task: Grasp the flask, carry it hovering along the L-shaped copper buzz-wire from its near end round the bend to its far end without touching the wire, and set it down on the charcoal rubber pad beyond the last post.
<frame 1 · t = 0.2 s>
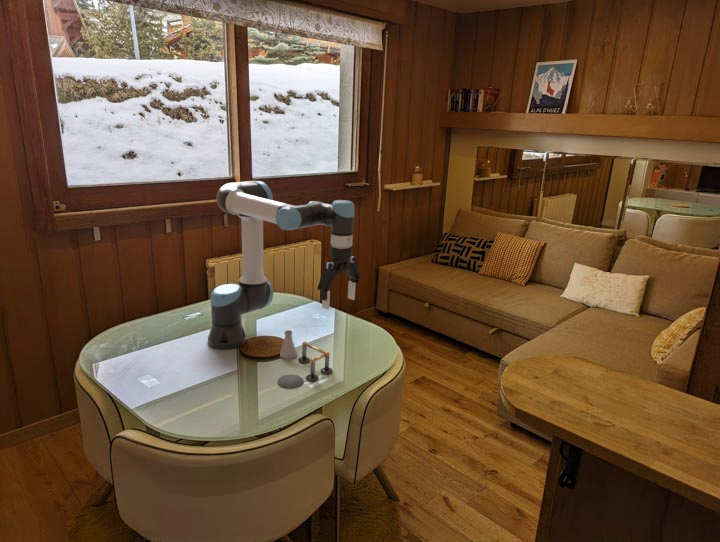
hand: (338, 303, 177), 27 cm above the table, fingers open, 13 cm apart
wire rail: (301, 372, 183), on the table
flask: (288, 355, 196), on the table
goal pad: (290, 381, 176), on the table
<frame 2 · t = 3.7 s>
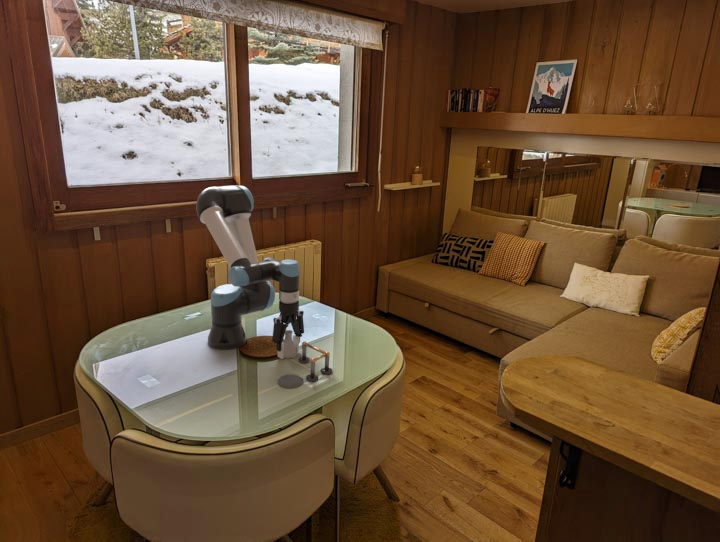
hand: (288, 354, 196), 0 cm above the table, fingers closed on flask, 7 cm apart
flask: (288, 355, 196), on the table, touching gripper
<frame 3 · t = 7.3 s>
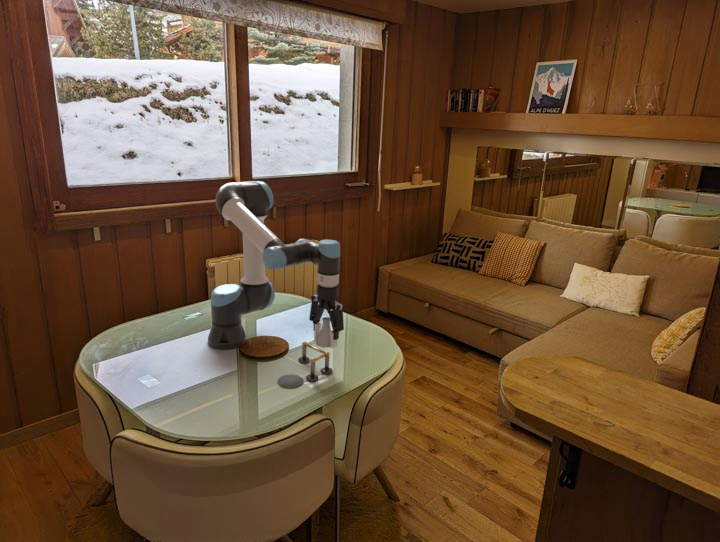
hand: (325, 343, 180), 12 cm above the table, fingers closed on flask, 7 cm apart
flask: (325, 344, 180), point 12 cm above the table, touching gripper
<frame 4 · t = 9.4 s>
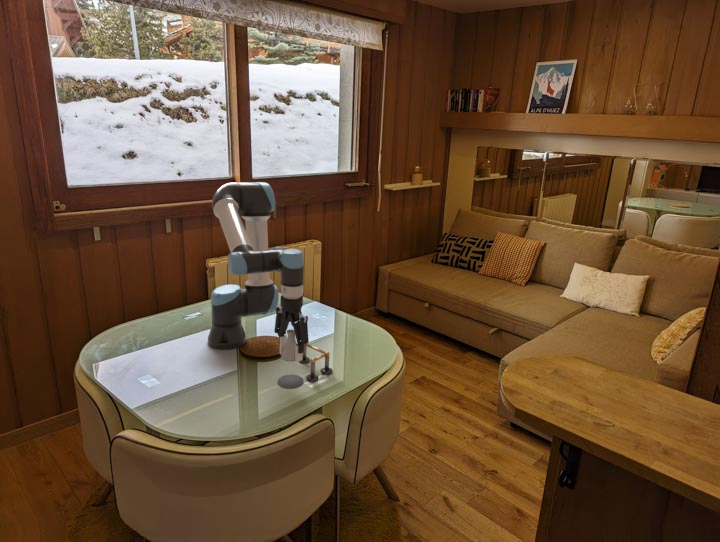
hand: (290, 356, 173), 10 cm above the table, fingers closed on flask, 7 cm apart
flask: (291, 357, 173), point 10 cm above the table, touching gripper
when the fingers open (2 cm above the table, at t = 11.1 s): flask drops 1 cm, resting on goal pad.
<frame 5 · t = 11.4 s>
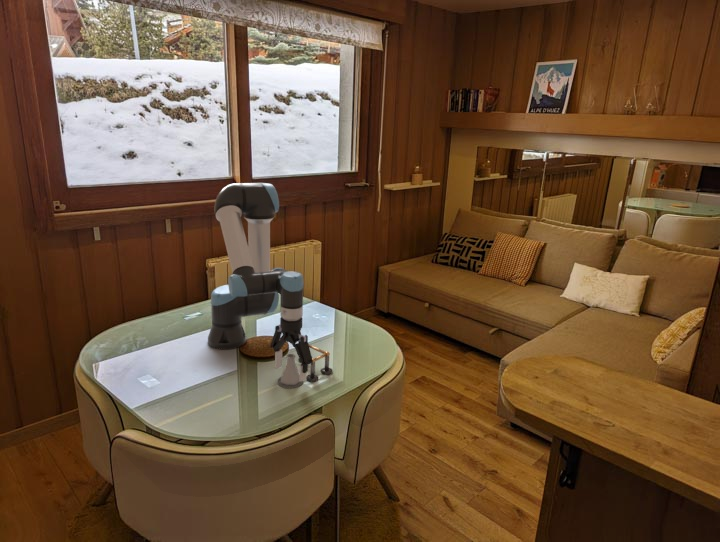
hand: (290, 373, 175), 3 cm above the table, fingers open, 12 cm apart
flask: (290, 381, 176), resting on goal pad
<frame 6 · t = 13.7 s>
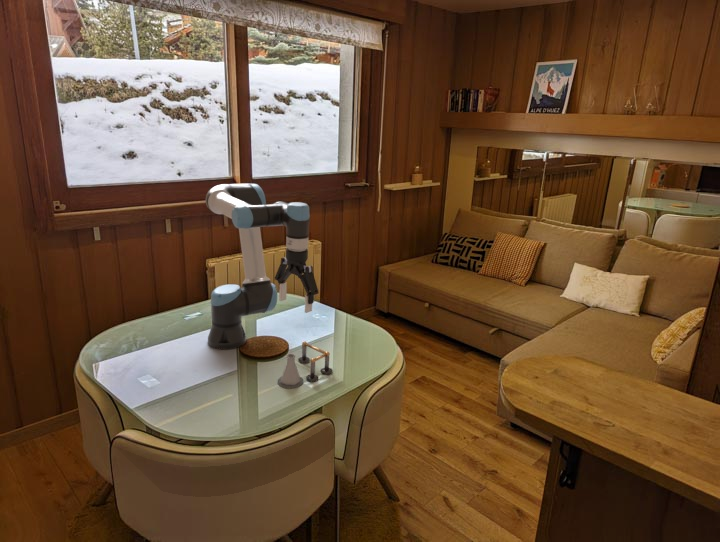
hand: (295, 305, 176), 26 cm above the table, fingers open, 13 cm apart
nothing on the table moved.
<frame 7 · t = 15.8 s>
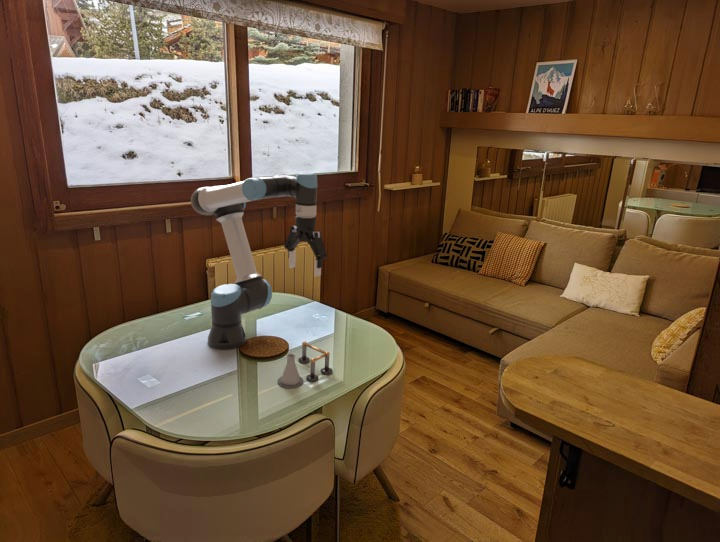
hand: (304, 271, 186), 35 cm above the table, fingers open, 13 cm apart
nothing on the table moved.
at the end: flask inside the target area on the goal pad (0.1 cm from its centre), point 0.2 cm above the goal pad's base; flask tilted 0°; flask touching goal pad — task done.
